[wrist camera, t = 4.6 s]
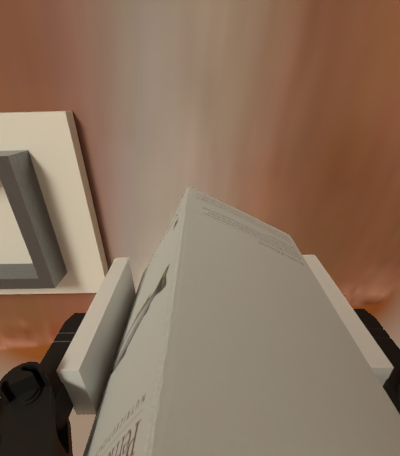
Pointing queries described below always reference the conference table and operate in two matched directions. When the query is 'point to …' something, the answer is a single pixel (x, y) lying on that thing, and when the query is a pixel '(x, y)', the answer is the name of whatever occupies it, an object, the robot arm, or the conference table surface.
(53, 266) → the collar
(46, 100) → the conference table surface
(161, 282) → the supplement box
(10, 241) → the base plate
